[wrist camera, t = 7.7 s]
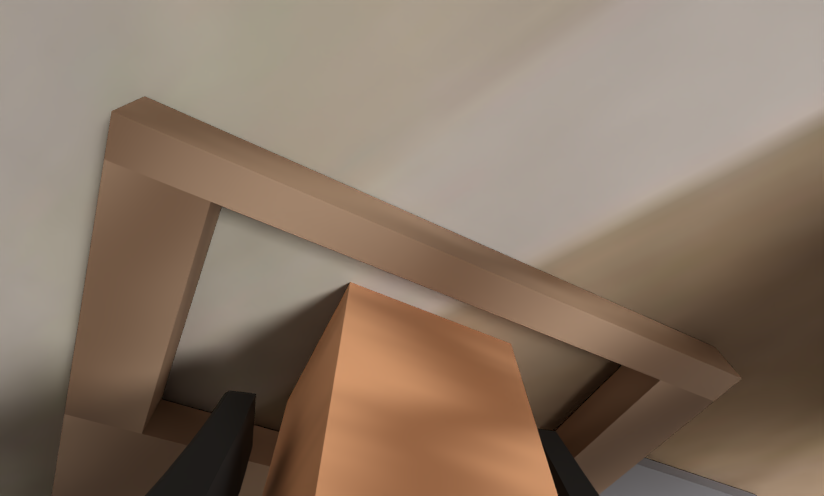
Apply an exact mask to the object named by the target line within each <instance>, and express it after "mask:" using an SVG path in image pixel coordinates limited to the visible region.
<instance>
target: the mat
mask: <svg viewBox="0 0 824 496" xmlns="http://www.w3.org/2000/svg"><path fill="white" fill-rule="evenodd" d="M599 496H757V495H755V494H752V493H749V492H746V491H743V490H740V489H737V488H734V487H731V486H728V485H725V484H722V483H719V482H716V481H713V480H710V479H707V478H704V477H701V476H698V475H695V474H692V473H689V472H686V471H683V470H680V469H677V468H674V467H671V466H668V465H665V464H662V463H659V462H656V461H653V460H650V459H647V458H644V459H642V460H641V461H640V462H639V463H637V464H636V465H635V466H634V467H632V468H631V469H630V470H629V471H628V472H626V473H625V474H624V475H623V476H621V477H620V478H619V479H618V480H616V481H615V482H614V483H613V484H612V485H610V486H609V487H608V488H607V489H605V490H604V491H603V492H602V493H600V494H599Z"/></svg>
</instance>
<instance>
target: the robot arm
mask: <svg viewBox="0 0 824 496" xmlns="http://www.w3.org/2000/svg"><path fill="white" fill-rule="evenodd" d="M255 397H256V394H252V393H244V392H236V391H229V392H227V393H225V394H224V396H223V397H222V399H221V400H220V402H219V403H218V405H217V406H216V408H215V409H214V411H213V412H212V414H211V415H210V416H209V418H208V419H207V421H206V422H205V423H204V425H203V426H202V427H201V429H200V430H199V431H198V433H197V434H196V435H195V436H194V438H193V439H192V440H191V442H190V443H189V444H188V445H187V447H186V448H185V449H184V450H183V452H182V453H181V454H180V455H179V456H178V458H177V459H176V460H175V461H174V462H173V464H172V465H171V466H170V467H169V469H168V470H167V471H166V472H165V473H164V475H163V476H162V477H161V478H160V479H159V480H158V482H157V483H156V484H155V485H154V486H153V487H152V488H151V489H150V490H149V492H148V493H147V494H146V495H145V496H239V493H240V490H241V486H242V483H243V479H244V476H245V472H246V469H247V465H248V461H249V457H250V454H251V450H252V446H253V430H254V414H255ZM537 430H538V433H539V436H540V440H541V443H542V446H543V449H544V452H545V456H546V459H547V462H548V465H549V469H550V472H551V475H552V478H553V481H554V485H555V488H556V491H557V494H558V496H599V494H598V493H597V491H596V490H595V488H594V487H593V485H592V484H591V482H590V481H589V480H588V478H587V477H586V475H585V474H584V472H583V471H582V469H581V468H580V466H579V465H578V463H577V462H576V460H575V459H574V457H573V456H572V454H571V453H570V451H569V450H568V448H567V447H566V445H565V444H564V443H563V441H562V440H561V438H560V437H559V435H558V434H557V432H556V431H549V430H541V429H537Z"/></svg>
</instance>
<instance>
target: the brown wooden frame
mask: <svg viewBox="0 0 824 496" xmlns="http://www.w3.org/2000/svg"><path fill="white" fill-rule="evenodd" d="M222 206H223V207H225V208H228V209H230V210H233V211H235V212H238V213H240V214H243V215H245V216H248V217H251V218H253V219H256V220H258V221H261V222H263V223H266V224H268V225H271V226H273V227H276V228H278V229H281V230H283V231H286V232H288V233H291V234H293V235H296V236H298V237H301V238H303V239H306V240H308V241H311V242H314V243H316V244H319V245H321V246H324V247H326V248H329V249H331V250H334V251H336V252H339V253H341V254H344V255H346V256H349V257H351V258H354V259H356V260H359V261H361V262H364V263H366V264H369V265H372V266H374V267H377V268H379V269H382V270H384V271H387V272H389V273H392V274H394V275H397V276H399V277H402V278H404V279H407V280H409V281H412V282H414V283H417V284H419V285H422V286H424V287H427V288H429V289H432V290H435V291H437V292H440V293H442V294H445V295H447V296H450V297H452V298H455V299H457V300H460V301H462V302H465V303H467V304H470V305H472V306H475V307H477V308H480V309H482V310H485V311H487V312H490V313H493V314H495V315H498V316H500V317H503V318H505V319H508V320H510V321H513V322H515V323H518V324H520V325H523V326H525V327H528V328H530V329H533V330H535V331H538V332H540V333H543V334H545V335H548V336H550V337H553V338H556V339H558V340H561V341H563V342H566V343H568V344H571V345H573V346H576V347H578V348H581V349H583V350H586V351H588V352H591V353H593V354H596V355H598V356H601V357H603V358H606V359H608V360H611V361H614V362H616V363H619V364H621V365H622V366H621V367H620V368H619V369H618V370H617V371H616V372H615V373H614V374H613V375H612V376H611V377H610V378H609V379H608V380H607V381H606V382H605V383H604V384H603V385H602V386H601V387H600V388H599V389H598V390H597V391H596V392H595V393H594V394H593V395H592V396H591V397H589V398H588V399H587V400H586V401H585V402H584V403H583V404H582V405H581V406H580V407H579V408H578V409H577V410H576V411H575V412H574V413H573V414H572V415H571V416H570V417H569V418H568V419H567V420H566V421H565V422H564V423H563V424H562V425H561V426H560V427H559V428H558V429H557V430H556V432H557V434H558V435H559V437H560V438H561V440H562V441H563V443H564V444H565V445H566V447H567V448H568V450H569V451H570V453H571V454H572V456H573V457H574V459H575V460H576V462H577V463H578V465H579V466H580V468H581V469H582V471H583V472H584V474H585V475H586V477H587V478H588V480H589V481H590V482H591V484H592V485H593V487H594V488H595V490H596V491H597V493H598V494H600V493H602V492H603V491H604V490H605V489H607V488H608V487H609V486H610V485H612V484H613V483H614V482H615V481H616V480H618V479H619V478H620V477H621V476H623V475H624V474H625V473H626V472H628V471H629V470H630V469H631V468H632V467H634V466H635V465H636V464H637V463H639V462H640V461H641V460H642V459H644V458H645V457H646V456H647V455H648V454H650V453H651V452H652V451H653V450H655V449H656V448H657V447H658V446H660V445H661V444H662V443H663V442H665V441H666V440H667V439H668V438H669V437H671V436H672V435H673V434H674V433H676V432H677V431H678V430H679V429H681V428H682V427H683V426H684V425H685V424H687V423H688V422H689V421H690V420H692V419H693V418H694V417H695V416H697V415H698V414H699V413H700V412H702V411H703V410H704V409H705V408H706V407H708V406H709V405H710V404H711V403H713V402H714V401H715V400H716V399H718V398H719V397H720V396H721V395H722V394H724V393H725V392H726V391H727V390H729V389H730V388H731V387H732V386H734V385H735V384H736V383H737V382H739V381H740V380H741V379H742V378H741V377H740V376H739V374H738V373H737V372H736V371H735V370H734V369H733V368H732V366H731V365H730V364H729V363H728V362H727V361H726V360H725V358H724V357H723V356H722V355H721V354H720V353H719V351H718V350H717V349H716V348H715V347H713V346H711V345H709V344H706V343H704V342H702V341H700V340H697V339H695V338H693V337H691V336H688V335H686V334H684V333H681V332H679V331H677V330H675V329H672V328H670V327H668V326H666V325H663V324H661V323H659V322H656V321H654V320H652V319H650V318H647V317H645V316H643V315H641V314H638V313H636V312H634V311H631V310H629V309H627V308H625V307H622V306H620V305H618V304H616V303H613V302H611V301H609V300H606V299H604V298H602V297H600V296H597V295H595V294H593V293H591V292H588V291H586V290H584V289H581V288H579V287H577V286H575V285H572V284H570V283H568V282H566V281H563V280H561V279H559V278H556V277H554V276H552V275H550V274H547V273H545V272H543V271H541V270H538V269H536V268H534V267H531V266H529V265H527V264H525V263H522V262H520V261H518V260H516V259H513V258H511V257H509V256H506V255H504V254H502V253H500V252H497V251H495V250H493V249H491V248H488V247H486V246H484V245H481V244H479V243H477V242H475V241H472V240H470V239H468V238H466V237H463V236H461V235H459V234H456V233H454V232H452V231H450V230H447V229H445V228H443V227H441V226H438V225H436V224H434V223H431V222H429V221H427V220H425V219H422V218H420V217H418V216H415V215H413V214H411V213H409V212H406V211H404V210H402V209H400V208H397V207H395V206H393V205H390V204H388V203H386V202H384V201H381V200H379V199H377V198H375V197H372V196H370V195H368V194H365V193H363V192H361V191H359V190H356V189H354V188H352V187H350V186H347V185H345V184H343V183H340V182H338V181H336V180H334V179H331V178H329V177H327V176H325V175H322V174H320V173H318V172H315V171H313V170H311V169H309V168H306V167H304V166H302V165H300V164H297V163H295V162H293V161H290V160H288V159H286V158H284V157H281V156H279V155H277V154H275V153H272V152H270V151H268V150H265V149H263V148H261V147H259V146H256V145H254V144H252V143H250V142H247V141H245V140H243V139H240V138H238V137H236V136H234V135H231V134H229V133H227V132H225V131H222V130H220V129H218V128H215V127H213V126H211V125H209V124H206V123H204V122H202V121H200V120H197V119H195V118H193V117H190V116H188V115H186V114H184V113H181V112H179V111H177V110H175V109H172V108H170V107H168V106H165V105H163V104H161V103H159V102H156V101H154V100H152V99H150V98H147V97H142V98H140V99H138V100H136V101H133V102H131V103H129V104H127V105H124V106H122V107H120V108H118V109H116V110H113V111H112V112H111V119H110V125H109V131H108V138H107V144H106V151H105V157H104V163H103V170H102V176H101V182H100V189H99V195H98V202H97V208H96V214H95V221H94V227H93V234H92V240H91V246H90V253H89V259H88V265H87V272H86V278H85V285H84V291H83V297H82V304H81V310H80V317H79V323H78V329H77V336H76V342H75V348H74V355H73V361H72V368H71V374H70V380H69V387H68V393H67V400H66V406H65V412H64V419H63V425H62V431H61V438H60V444H59V451H58V457H57V463H56V470H55V476H54V483H53V489H52V495H51V496H145V495H146V494H147V493H148V492H149V490H150V489H151V488H152V487H153V486H154V485H155V484H156V483H157V482H158V480H159V479H160V478H161V477H162V476H163V475H164V473H165V472H166V471H167V470H168V469H169V467H170V466H171V465H172V464H173V462H174V461H175V460H176V459H177V458H178V456H179V455H180V454H181V453H182V452H183V450H184V449H185V448H186V447H187V445H188V444H189V443H190V442H191V440H192V439H193V438H194V436H195V435H196V434H197V433H198V431H199V430H200V429H201V427H202V426H203V425H204V423H205V422H206V421H207V419H208V418H209V416H210V415H211V414H212V413H209V412H205V411H201V410H198V409H194V408H190V407H187V406H183V405H180V404H176V403H172V402H169V401H165V400H162V399H161V398H162V395H163V392H164V389H165V386H166V382H167V379H168V376H169V373H170V370H171V366H172V363H173V360H174V357H175V354H176V351H177V347H178V344H179V341H180V338H181V335H182V331H183V328H184V325H185V322H186V319H187V315H188V312H189V309H190V306H191V303H192V299H193V296H194V293H195V290H196V287H197V284H198V280H199V277H200V274H201V271H202V268H203V264H204V261H205V258H206V255H207V252H208V248H209V245H210V242H211V239H212V236H213V232H214V229H215V226H216V223H217V220H218V217H219V213H220V210H221V207H222ZM278 435H279V432H277V431H273V430H270V429H266V428H263V427H259V426H255V425H254V430H253V446H252V450H251V454H250V457H249V461H248V465H247V469H246V472H245V476H244V479H243V483H242V486H241V490H240V493H239V496H262V495H263V491H264V487H265V483H266V480H267V476H268V472H269V468H270V465H271V461H272V457H273V454H274V450H275V446H276V442H277V439H278Z"/></svg>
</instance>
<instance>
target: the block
mask: <svg viewBox="0 0 824 496" xmlns="http://www.w3.org/2000/svg"><path fill="white" fill-rule="evenodd" d="M262 496H558V494H557V491H556V488H555V485H554V481H553V478H552V475H551V472H550V469H549V465H548V462H547V459H546V456H545V452H544V449H543V446H542V443H541V440H540V436H539V433H538V430H537V427H536V423H535V420H534V417H533V414H532V411H531V407H530V404H529V401H528V398H527V394H526V391H525V388H524V385H523V382H522V378H521V375H520V372H519V369H518V365H517V362H516V359H515V356H514V353H513V349H512V346H511V344H510V343H507V342H505V341H502V340H500V339H497V338H494V337H492V336H489V335H486V334H484V333H481V332H479V331H476V330H473V329H471V328H468V327H466V326H463V325H460V324H458V323H455V322H453V321H450V320H447V319H445V318H442V317H440V316H437V315H434V314H432V313H429V312H427V311H424V310H421V309H419V308H416V307H413V306H411V305H408V304H406V303H403V302H400V301H398V300H395V299H393V298H390V297H387V296H385V295H382V294H380V293H377V292H374V291H372V290H369V289H367V288H364V287H361V286H359V285H356V284H354V283H351V282H350V283H349V285H348V287H347V289H346V291H345V293H344V295H343V297H342V299H341V301H340V302H339V304H338V306H337V308H336V310H335V312H334V314H333V316H332V318H331V319H330V321H329V323H328V325H327V327H326V329H325V331H324V333H323V335H322V336H321V338H320V340H319V342H318V344H317V346H316V348H315V350H314V352H313V353H312V355H311V357H310V359H309V361H308V363H307V365H306V367H305V369H304V371H303V372H302V374H301V376H300V378H299V380H298V382H297V384H296V386H295V388H294V389H293V391H292V393H291V395H290V397H289V399H288V401H287V405H286V409H285V412H284V416H283V420H282V424H281V427H280V431H279V435H278V439H277V442H276V446H275V450H274V454H273V457H272V461H271V465H270V468H269V472H268V476H267V480H266V483H265V487H264V491H263V495H262Z"/></svg>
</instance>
